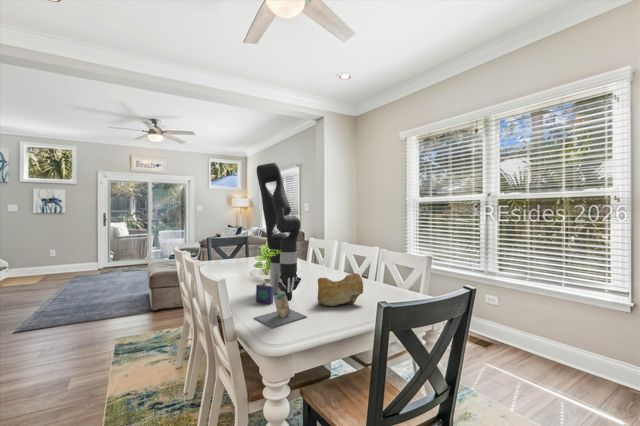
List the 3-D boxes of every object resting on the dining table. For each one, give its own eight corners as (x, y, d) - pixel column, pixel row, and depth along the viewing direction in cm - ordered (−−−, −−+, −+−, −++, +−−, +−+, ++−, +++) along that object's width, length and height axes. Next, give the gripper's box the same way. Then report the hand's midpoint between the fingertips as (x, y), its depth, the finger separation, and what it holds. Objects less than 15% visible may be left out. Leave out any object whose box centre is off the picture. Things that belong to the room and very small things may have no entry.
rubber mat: (287, 309, 145) (287, 308, 145) (306, 317, 135) (306, 316, 135) (254, 318, 133) (254, 317, 133) (271, 328, 123) (271, 326, 123)
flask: (274, 302, 155) (273, 281, 155) (271, 304, 152) (271, 283, 152) (257, 301, 158) (257, 280, 157) (254, 302, 155) (254, 281, 155)
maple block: (285, 311, 138) (281, 292, 136) (290, 313, 135) (286, 294, 133) (278, 315, 136) (273, 296, 134) (283, 317, 133) (278, 298, 131)
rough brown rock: (357, 297, 166) (355, 270, 167) (365, 305, 150) (364, 274, 150) (314, 301, 163) (313, 272, 164) (318, 309, 146) (317, 277, 147)
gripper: (295, 258, 143) (295, 295, 144) (271, 262, 134) (271, 301, 135) (305, 260, 138) (305, 299, 138) (281, 264, 129) (281, 305, 129)
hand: (288, 300), depth 136 cm, fingers closed
